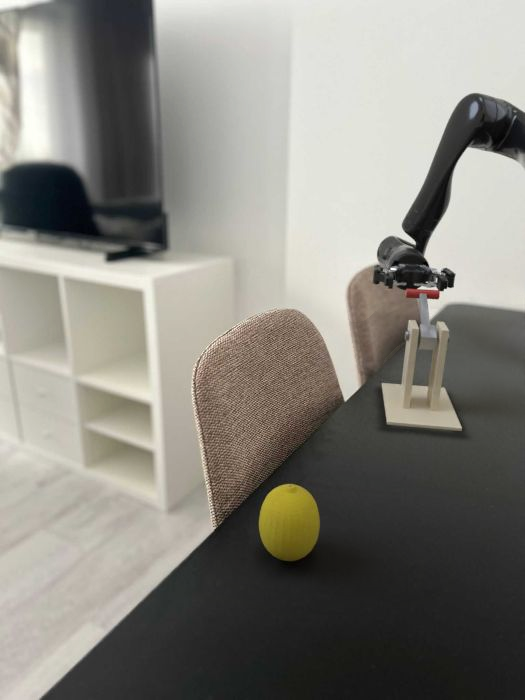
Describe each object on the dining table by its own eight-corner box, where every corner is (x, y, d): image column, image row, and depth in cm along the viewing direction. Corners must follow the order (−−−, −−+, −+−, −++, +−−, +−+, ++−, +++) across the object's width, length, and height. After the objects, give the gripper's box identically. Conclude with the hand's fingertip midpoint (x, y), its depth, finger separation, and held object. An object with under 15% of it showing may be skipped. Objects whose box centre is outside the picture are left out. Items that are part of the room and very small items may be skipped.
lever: (404, 296, 82) (406, 284, 81) (437, 298, 81) (439, 285, 80) (408, 348, 74) (410, 336, 72) (444, 350, 73) (447, 338, 71)
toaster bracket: (380, 391, 85) (389, 310, 80) (443, 396, 83) (455, 314, 79) (386, 431, 72) (396, 337, 67) (460, 438, 70) (476, 342, 66)
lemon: (276, 531, 52) (278, 462, 49) (327, 551, 49) (332, 479, 46) (247, 565, 47) (247, 491, 44) (300, 590, 44) (304, 512, 42)
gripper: (372, 247, 103) (376, 260, 88) (446, 250, 101) (463, 264, 85) (369, 284, 105) (372, 303, 90) (441, 287, 103) (457, 307, 88)
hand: (416, 284), depth 88 cm, fingers open, 8 cm apart
